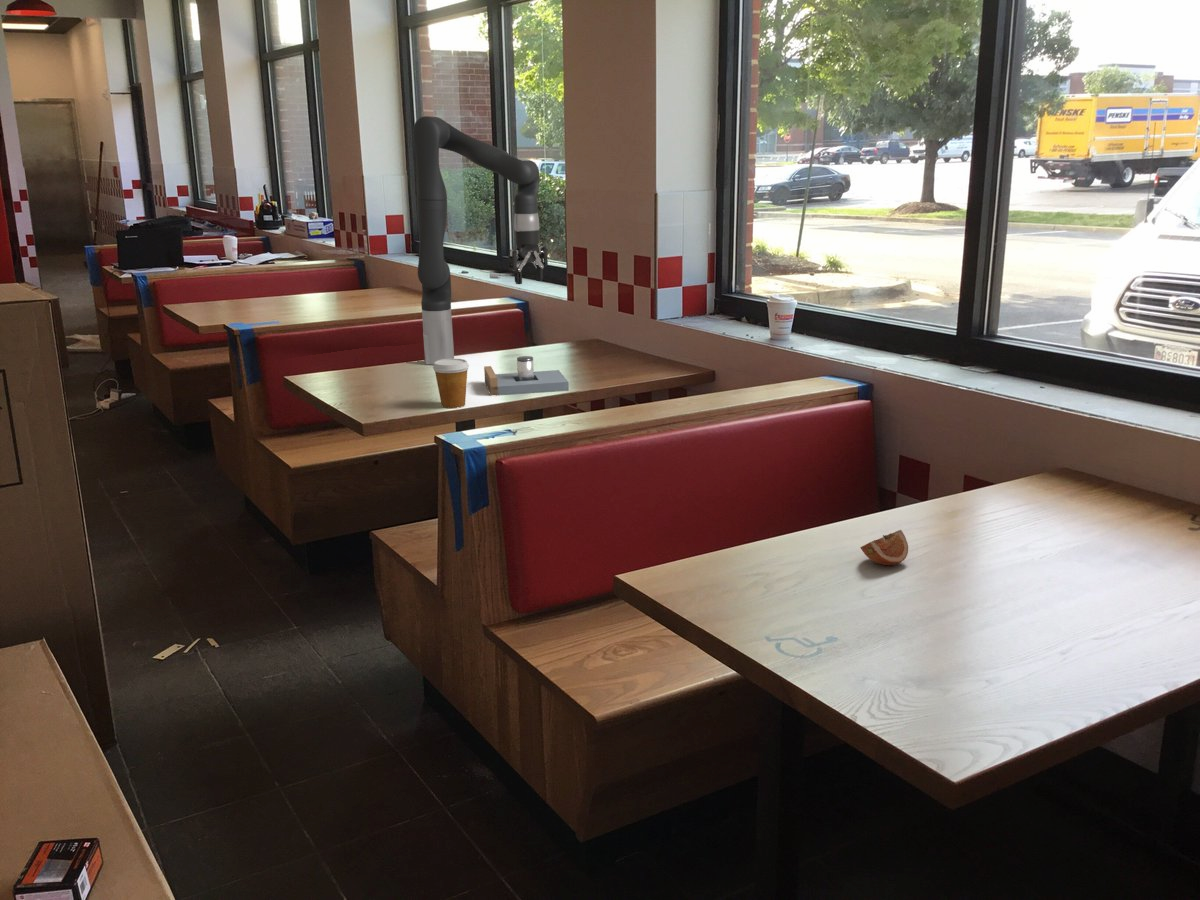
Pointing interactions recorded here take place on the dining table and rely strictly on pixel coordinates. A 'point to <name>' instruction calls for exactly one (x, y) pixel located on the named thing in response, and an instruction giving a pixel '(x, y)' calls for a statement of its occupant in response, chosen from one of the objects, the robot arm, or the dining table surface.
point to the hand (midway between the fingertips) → (529, 282)
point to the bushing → (525, 368)
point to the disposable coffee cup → (451, 381)
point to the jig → (524, 382)
